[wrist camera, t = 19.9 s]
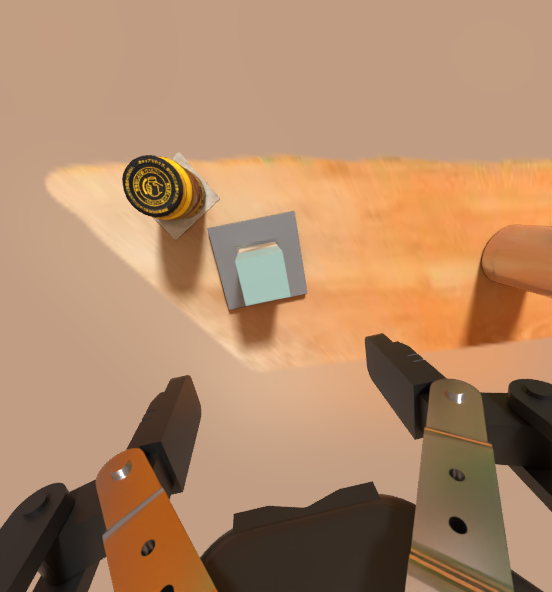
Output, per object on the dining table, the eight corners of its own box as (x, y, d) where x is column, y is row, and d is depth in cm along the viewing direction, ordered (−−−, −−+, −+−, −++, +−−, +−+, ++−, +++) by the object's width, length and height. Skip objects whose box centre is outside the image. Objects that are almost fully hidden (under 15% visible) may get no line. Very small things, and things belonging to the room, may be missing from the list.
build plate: (293, 211, 37) (294, 210, 36) (305, 291, 41) (307, 293, 39) (208, 227, 36) (207, 228, 35) (229, 307, 40) (229, 309, 39)
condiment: (220, 198, 35) (205, 192, 24) (176, 240, 37) (142, 253, 25) (179, 152, 33) (142, 120, 22) (134, 198, 34) (76, 191, 23)
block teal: (277, 245, 32) (282, 251, 27) (285, 284, 33) (290, 296, 29) (237, 253, 32) (235, 261, 27) (246, 292, 33) (245, 305, 29)
